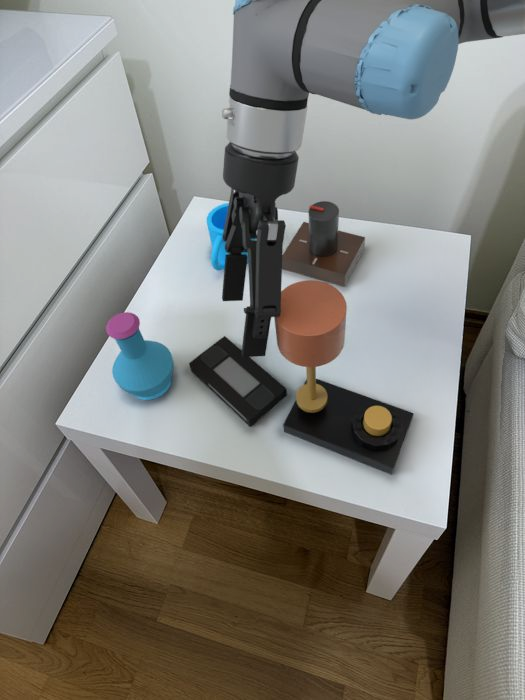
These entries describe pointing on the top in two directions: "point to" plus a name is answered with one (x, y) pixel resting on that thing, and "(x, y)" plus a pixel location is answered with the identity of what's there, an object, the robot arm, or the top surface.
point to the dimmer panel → (325, 267)
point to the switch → (377, 420)
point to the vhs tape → (238, 380)
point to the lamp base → (350, 428)
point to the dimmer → (323, 228)
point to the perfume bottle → (139, 359)
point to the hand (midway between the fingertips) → (242, 325)
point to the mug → (218, 235)
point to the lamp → (311, 333)
